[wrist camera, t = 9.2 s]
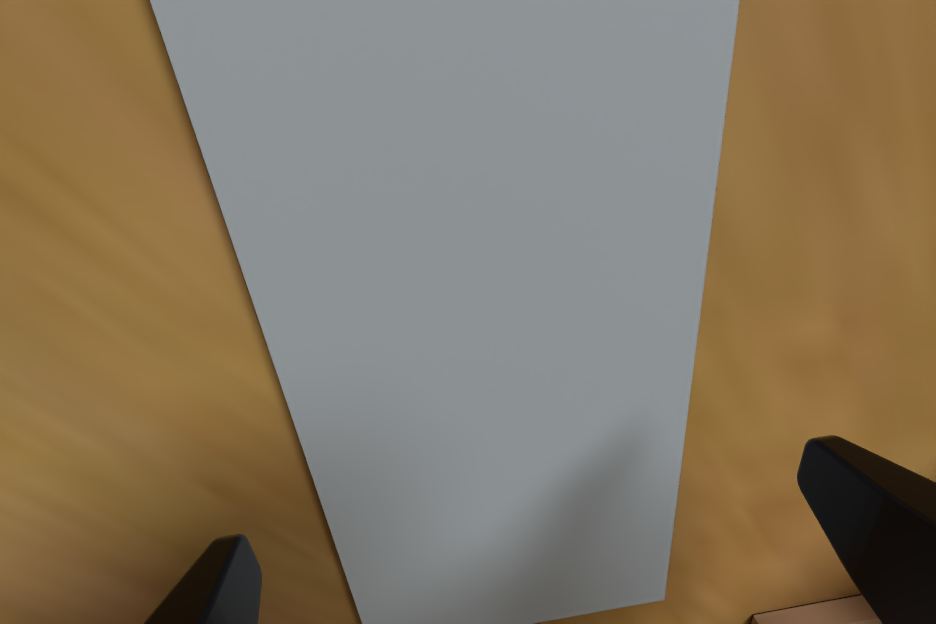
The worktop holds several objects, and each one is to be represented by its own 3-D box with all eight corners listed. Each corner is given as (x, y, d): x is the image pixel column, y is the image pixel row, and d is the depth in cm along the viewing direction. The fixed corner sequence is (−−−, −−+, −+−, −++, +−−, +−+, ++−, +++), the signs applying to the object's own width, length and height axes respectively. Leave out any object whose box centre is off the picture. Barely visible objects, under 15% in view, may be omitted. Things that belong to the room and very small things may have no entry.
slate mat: (753, -239, 8) (771, -251, 7) (658, 587, 17) (664, 599, 17) (101, -177, 7) (86, -186, 7) (372, 639, 17) (372, 653, 16)
